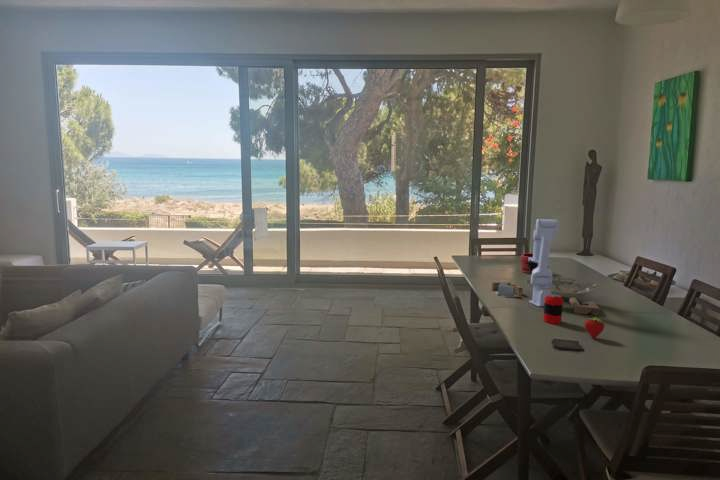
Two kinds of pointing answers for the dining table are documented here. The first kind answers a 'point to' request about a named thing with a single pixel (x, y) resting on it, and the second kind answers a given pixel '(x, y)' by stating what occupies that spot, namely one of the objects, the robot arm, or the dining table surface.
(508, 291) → the bracket
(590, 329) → the strawberry
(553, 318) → the soda can
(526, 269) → the plant pot
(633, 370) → the dining table surface
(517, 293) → the corner fence
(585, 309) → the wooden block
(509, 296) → the pose pad
